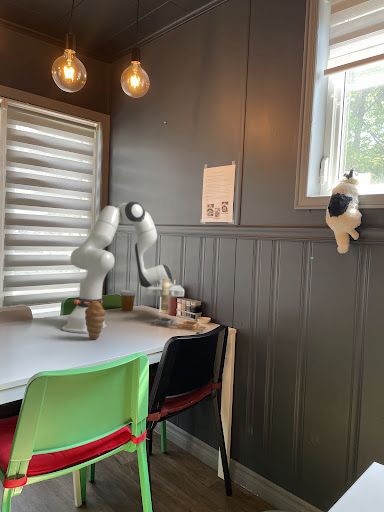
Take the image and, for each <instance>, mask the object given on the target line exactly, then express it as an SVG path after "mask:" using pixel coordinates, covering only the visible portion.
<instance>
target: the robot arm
mask: <svg viewBox="0 0 384 512" xmlns="http://www.w3.org/2000/svg"><path fill="white" fill-rule="evenodd" d="M125 224H132V225H133V227H134V230H135V233H136V236H137V241H136V243H135V245H134V251H135V260H136V268H137V273H138V274H137V275H138V276H137V277H138V278H137V279H138V283H139V284H140V286H141V287H144V288H146V289H145V290H146V295H148V296H159V297H160V298H162V282H163V279H170V292H169V299H171V298H184V297H185V288H184V287H182V285H181V284H175V283H172V280H173V277H172V276H173V275H172V273H171V270H170V268H169V266H168V265H166V264H158V265H156V266H153V267H150V268H147V269H146V267H145V263H144V254H145V252H146V251H147V250H149V248H151V247H152V246H153V245H154V244H155V243H156V241H157V240H158V232H157V231H158V230H157V228H156V226H155V223H154V221H153V218H152V217H151V214H150V213H149V212H148V211H145V209H144V207H143V205H142V204H141V203H140V202H137V201H129V202H124V203H121V204H118V205H116V206H114V205H105V207H104V208H102V210H101V212H100V213H99V215H98V217H97V218H96V221H95V224H94V226H93V228H92V230H91V233H90V234H89V236H88V237H87V238H86V240H85V241H84V242H83V243H82V244H81V245H80V246H79V247H77V248H75V249H73V251H72V252H71V255H70V262H71V264H72V265H73V266H74V267H76V268H78V269H81V270H85V271H87V272H86V276H85V277H84V278H83V279H82V280H80V282H79V295H78V299H74V300H73V304H74V305H76V307H75V308H73V310H72V312H71V313H70V314H69V315H68V317H67V324H66V325H63V326H62V327H61V330H63V331H64V332H69V333H78V334H87V333H88V334H89V332H88V331H87V326H86V320H85V316H86V314H85V310H86V309H87V308H88V307H89V304H90V303H89V300H92V301H99V300H102V302H101V305H102V306H103V304H104V303H103V301H104V300H103V299H104V298H103V286H104V280H105V278H106V276H107V274H108V273H109V272H110V271H111V270H112V269H113V268H114V265H115V263H116V262H115V260H116V259H115V256H114V255H113V253H112V252H110V251H108V250H105V248H106V247H108V246H109V245H111V244H112V242H113V239H114V237H115V234H116V233H117V230H118V227H119V225H125ZM157 284H158V285H157ZM153 285H157V286H153ZM105 328H107V324H105V321H104V322H103V327H102V328H101V330H102V329H105Z"/></svg>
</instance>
